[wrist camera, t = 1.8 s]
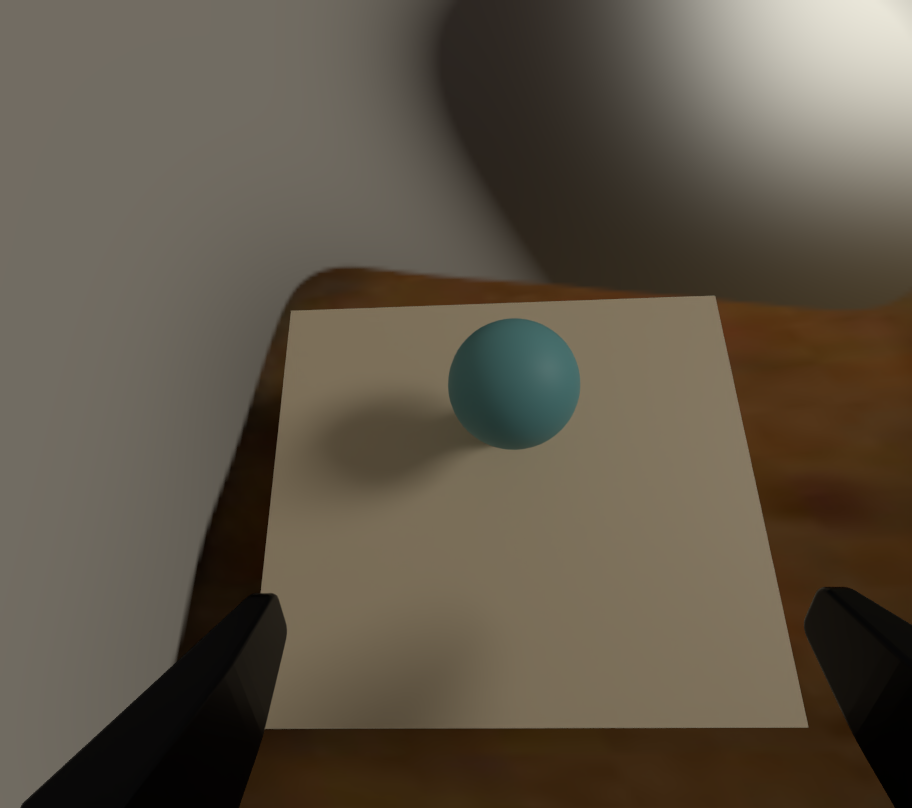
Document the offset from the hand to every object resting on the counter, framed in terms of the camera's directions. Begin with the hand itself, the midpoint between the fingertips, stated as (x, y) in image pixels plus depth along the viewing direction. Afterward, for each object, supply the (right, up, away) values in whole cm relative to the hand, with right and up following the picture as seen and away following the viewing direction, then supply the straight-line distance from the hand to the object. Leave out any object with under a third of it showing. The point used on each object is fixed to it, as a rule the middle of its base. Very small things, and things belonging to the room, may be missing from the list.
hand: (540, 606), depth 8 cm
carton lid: (0, +1, +7) cm, 7 cm away
